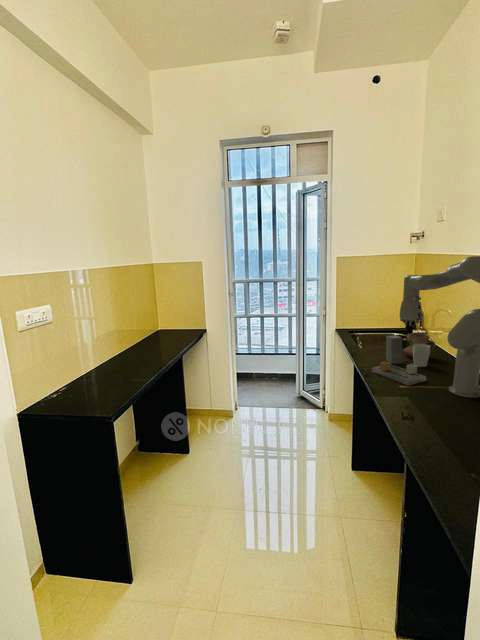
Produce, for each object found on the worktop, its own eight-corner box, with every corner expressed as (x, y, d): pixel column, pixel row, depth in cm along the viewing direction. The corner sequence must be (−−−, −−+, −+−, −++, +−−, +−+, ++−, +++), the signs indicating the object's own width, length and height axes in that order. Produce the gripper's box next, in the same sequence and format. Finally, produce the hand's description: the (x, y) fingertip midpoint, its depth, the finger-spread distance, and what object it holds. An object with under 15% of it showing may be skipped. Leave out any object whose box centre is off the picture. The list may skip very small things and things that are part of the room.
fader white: (416, 372, 175) (417, 365, 174) (411, 374, 173) (412, 366, 172) (411, 371, 177) (411, 363, 177) (406, 372, 176) (406, 364, 175)
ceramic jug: (401, 358, 209) (403, 336, 207) (401, 352, 222) (403, 331, 220) (434, 361, 202) (437, 338, 199) (433, 355, 214) (435, 333, 212)
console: (425, 381, 171) (426, 376, 170) (408, 385, 165) (408, 380, 165) (388, 368, 191) (388, 363, 191) (371, 371, 186) (372, 367, 185)
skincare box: (402, 363, 198) (404, 337, 195) (390, 364, 198) (391, 338, 196) (395, 359, 207) (397, 334, 204) (384, 359, 207) (385, 334, 204)
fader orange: (390, 369, 180) (390, 362, 179) (384, 370, 178) (385, 363, 177) (385, 368, 183) (385, 361, 182) (380, 369, 181) (380, 362, 180)
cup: (411, 366, 193) (412, 346, 191) (411, 362, 201) (413, 342, 199) (429, 368, 189) (430, 348, 187) (428, 364, 197) (430, 344, 195)
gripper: (429, 299, 170) (426, 334, 173) (403, 297, 184) (401, 330, 187) (419, 300, 167) (417, 336, 170) (393, 298, 180) (392, 331, 183)
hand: (409, 333), depth 178 cm, fingers closed
